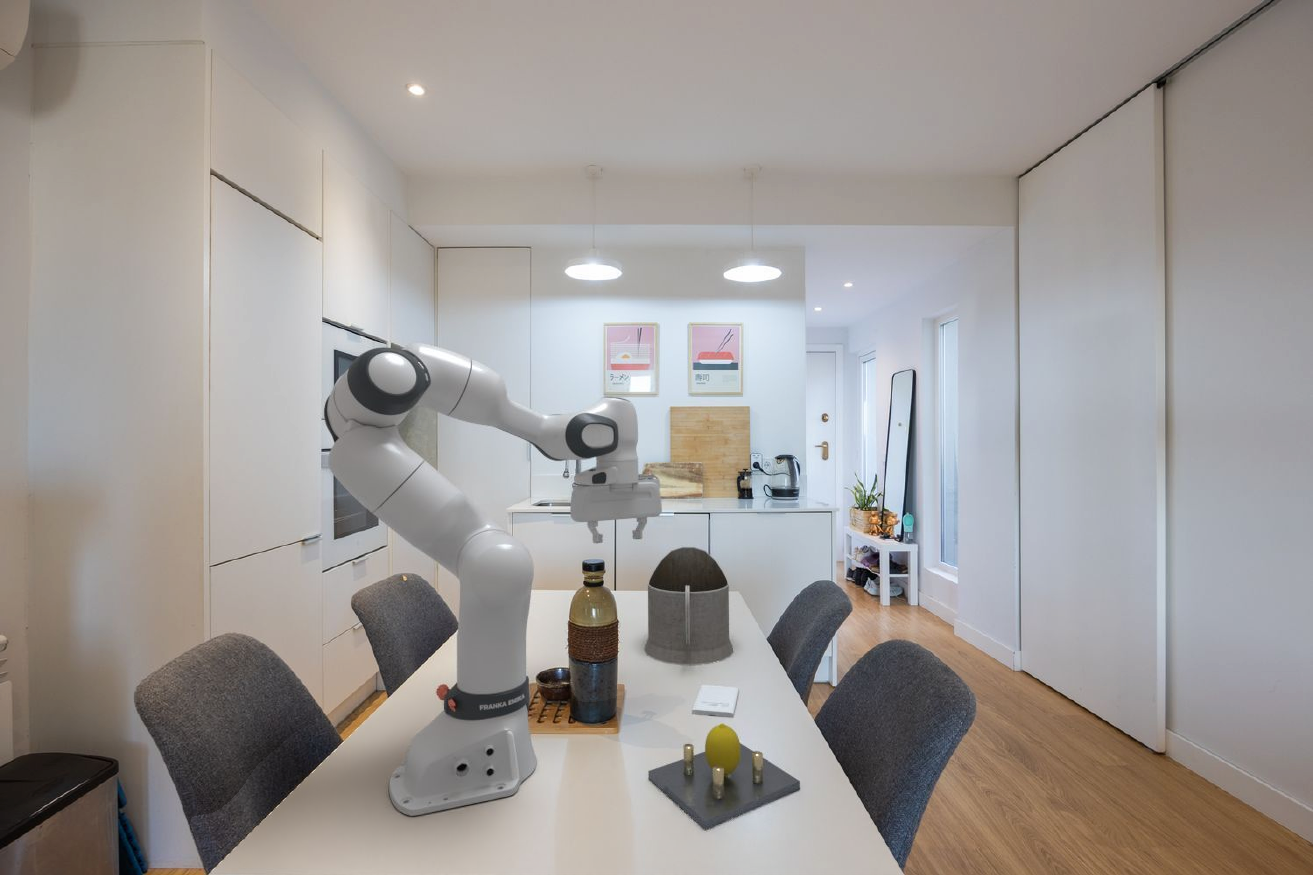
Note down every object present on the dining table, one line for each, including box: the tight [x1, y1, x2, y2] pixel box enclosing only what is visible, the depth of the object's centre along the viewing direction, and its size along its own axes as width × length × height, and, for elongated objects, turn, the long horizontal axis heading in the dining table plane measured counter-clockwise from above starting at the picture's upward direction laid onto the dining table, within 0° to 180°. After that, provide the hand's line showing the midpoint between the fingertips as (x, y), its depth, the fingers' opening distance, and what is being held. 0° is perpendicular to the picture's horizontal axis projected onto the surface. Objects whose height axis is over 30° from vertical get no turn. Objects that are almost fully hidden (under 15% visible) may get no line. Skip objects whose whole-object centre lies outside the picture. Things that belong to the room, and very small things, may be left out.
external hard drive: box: [691, 684, 740, 719], centre depth 121 cm, size 2×8×12 cm
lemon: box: [704, 723, 741, 776], centre depth 92 cm, size 6×6×8 cm
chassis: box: [647, 742, 801, 831], centre depth 92 cm, size 18×15×5 cm
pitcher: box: [643, 546, 735, 666], centre depth 150 cm, size 23×32×25 cm
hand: (617, 540), depth 124 cm, fingers open, 8 cm apart
